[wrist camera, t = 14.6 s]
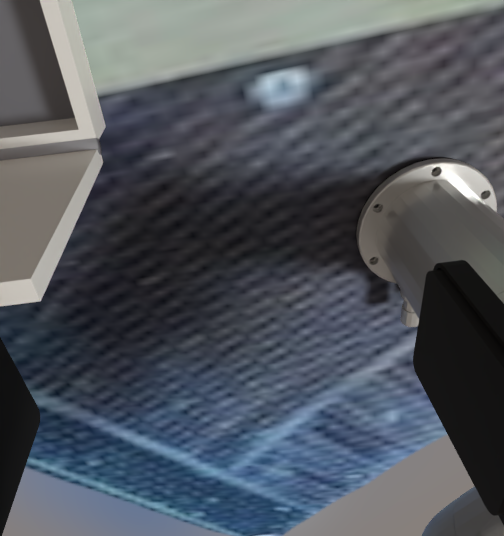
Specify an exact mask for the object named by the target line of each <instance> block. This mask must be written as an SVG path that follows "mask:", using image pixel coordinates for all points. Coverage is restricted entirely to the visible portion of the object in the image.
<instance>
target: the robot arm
mask: <svg viewBox="0 0 504 536" xmlns="http://www.w3.org/2000/svg"><path fill="white" fill-rule="evenodd" d="M376 204H377V205H376ZM356 236H357V245H358V249H359V252H360V255H361V256H362V258H363V260H364V262H365V264H366V265H367V266H368V267H369V269H370V270H371V271H372V272H373V273H375V274H376V275H377V276H378V277H380V278H382V279H384V280H386V281H389V282H393V283H397V284H398V286H399V287H400V289H401V292H400V294H401V297H402V298H403V299H404V302H403V305H402V311H401V319H400V320H401V322H402V324H404V325H405V326H408V327H416V326H418V330H417V337H416V343H415V349H414V356H413V364H414V368H415V372H416V374H417V376H418V378H419V380H420V382H421V384H422V386H423V388H424V390H425V391H426V393H427V395H428V397H429V399H430V401H431V403H432V405H433V407H434V409H435V411H436V413H437V415H438V416H439V418H440V420H441V422H442V424H443V426H444V428H445V430H446V432H447V434H448V436H449V437H450V440H451V441H452V443H453V445H454V447H455V449H456V451H457V453H458V455H459V457H460V458H461V460H462V462H463V464H464V466H465V468H466V470H467V472H468V474H469V476H470V478H471V480H472V482H473V484H474V486H475V487H473V488H472V489H470V490H469V491H467V492H466V493H464V494H463V495H461V496H460V497H459V498H457V499H456V500H455V501H453V502H452V503H450V504H449V505H448V506H446V507H445V508H444V509H443V510H441V511H440V512H439V513H438V514H437V515H436V516H435V517H434V518H433V519H432V520H431V521H430V522H429V524H428V525H427V526H426V528H425V530H424V532H423V534H422V536H504V219H503V218H502V217H501V216H500V215H499V214H498V213H497V201H496V195H495V192H494V189H493V187H492V185H491V184H490V182H489V181H488V179H487V178H486V177H485V176H484V175H483V174H482V173H481V172H479V171H478V170H477V169H475V168H474V167H472V166H471V165H469V164H467V163H464V162H462V161H459V160H454V159H446V158H440V159H429V160H425V161H421V162H417V163H414V164H412V165H410V166H407V167H405V168H403V169H401V170H399V171H398V172H396V173H395V174H393V175H392V176H390V177H389V178H388V179H386V180H385V181H384V182H383V183H382V184H381V185H380V186H378V188H377V189H376V190H375V191H374V192H373V194H372V195H371V196H370V197H369V199H368V201H367V202H366V204H365V206H364V207H363V209H362V212H361V214H360V217H359V220H358V225H357V231H356ZM39 423H40V413H39V409H38V407H37V405H36V403H35V401H34V399H33V397H32V395H31V394H30V392H29V390H28V388H27V386H26V384H25V382H24V381H23V379H22V377H21V375H20V373H19V371H18V369H17V368H16V366H15V364H14V362H13V360H12V358H11V357H10V355H9V353H8V351H7V349H6V347H5V345H4V344H3V342H2V340H1V338H0V536H2V533H3V530H4V527H5V525H6V522H7V518H8V516H9V513H10V510H11V507H12V504H13V501H14V498H15V495H16V492H17V489H18V486H19V483H20V480H21V477H22V474H23V471H24V468H25V465H26V462H27V459H28V456H29V453H30V450H31V447H32V444H33V441H34V439H35V436H36V433H37V430H38V427H39Z"/></svg>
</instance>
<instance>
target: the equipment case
mask: <svg viewBox="0 0 504 536" xmlns="http://www.w3.org/2000/svg"><path fill="white" fill-rule="evenodd" d="M105 127H106V126H105V122H104V118H103V115H102V111H101V107H100V103H99V100H98V96H97V92H96V88H95V85H94V81H93V77H92V74H91V70H90V66H89V62H88V59H87V55H86V51H85V48H84V44H83V40H82V36H81V33H80V29H79V25H78V21H77V18H76V14H75V10H74V7H73V3H72V0H0V306H8V305H15V304H23V303H31V302H39V301H41V300H42V297H43V295H44V293H45V291H46V288H47V286H48V284H49V282H50V280H51V277H52V275H53V273H54V271H55V269H56V266H57V264H58V262H59V260H60V257H61V255H62V253H63V251H64V249H65V246H66V244H67V242H68V240H69V237H70V235H71V233H72V231H73V229H74V226H75V224H76V222H77V220H78V218H79V215H80V213H81V211H82V209H83V206H84V204H85V202H86V200H87V198H88V195H89V193H90V191H91V189H92V186H93V184H94V182H95V180H96V178H97V175H98V173H99V171H100V169H101V167H102V164H103V160H102V156H101V145H100V141H99V138H100V136H101V135H102V133H103V131H104V129H105Z"/></svg>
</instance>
